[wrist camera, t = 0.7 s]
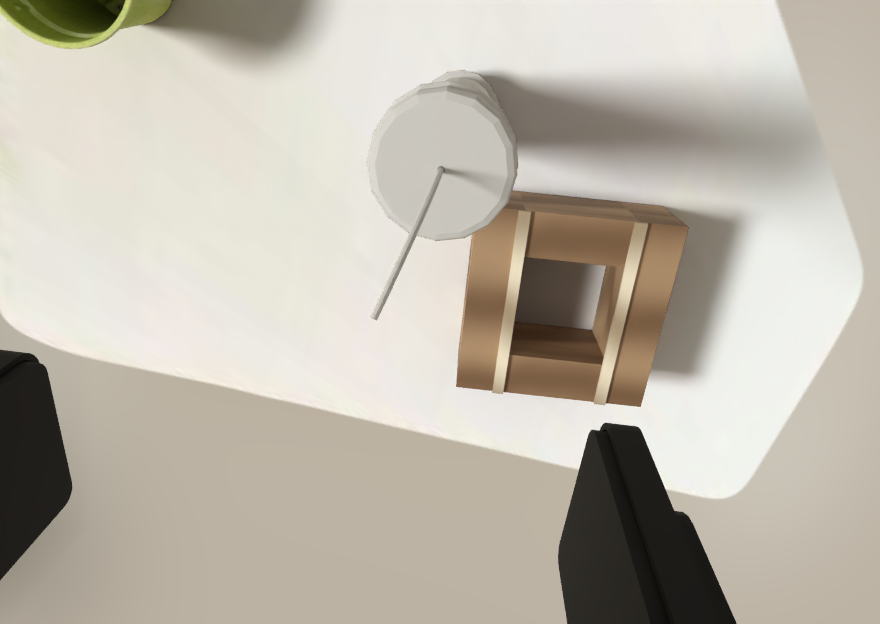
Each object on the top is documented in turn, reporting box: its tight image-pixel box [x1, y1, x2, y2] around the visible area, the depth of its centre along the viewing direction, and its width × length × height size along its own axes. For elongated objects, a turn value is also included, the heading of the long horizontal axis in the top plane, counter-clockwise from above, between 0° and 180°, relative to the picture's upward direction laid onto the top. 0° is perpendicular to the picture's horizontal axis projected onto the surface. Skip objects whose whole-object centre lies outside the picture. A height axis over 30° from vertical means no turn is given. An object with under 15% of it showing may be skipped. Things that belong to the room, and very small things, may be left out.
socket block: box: [456, 191, 689, 407], centre depth 44 cm, size 14×14×6 cm
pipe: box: [367, 70, 518, 320], centre depth 29 cm, size 6×6×30 cm
